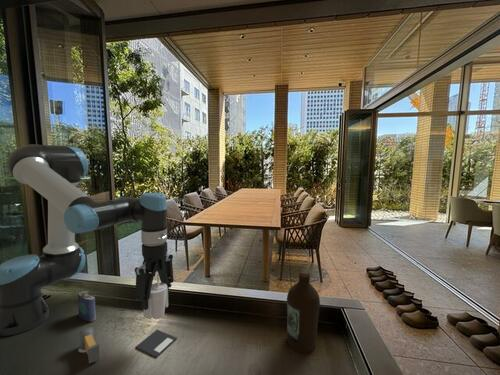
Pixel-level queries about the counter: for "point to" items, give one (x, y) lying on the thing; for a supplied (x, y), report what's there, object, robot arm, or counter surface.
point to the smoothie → (158, 299)
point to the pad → (156, 343)
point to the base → (83, 350)
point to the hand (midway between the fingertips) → (156, 311)
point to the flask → (86, 307)
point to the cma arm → (89, 344)
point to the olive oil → (302, 314)
